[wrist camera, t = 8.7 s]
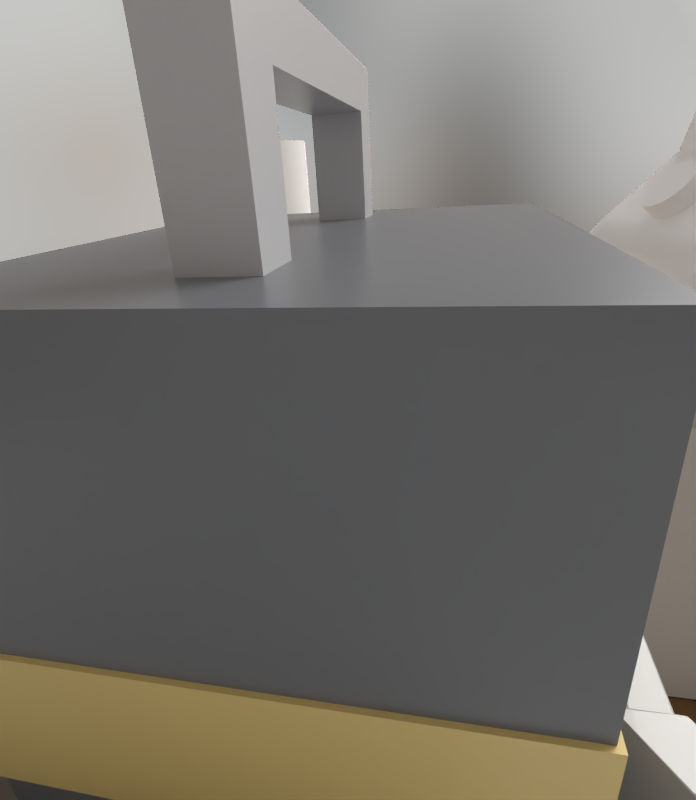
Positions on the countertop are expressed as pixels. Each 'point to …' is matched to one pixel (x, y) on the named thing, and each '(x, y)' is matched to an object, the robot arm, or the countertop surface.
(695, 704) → the countertop surface
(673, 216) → the milk
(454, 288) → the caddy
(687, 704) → the countertop surface
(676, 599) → the dock
